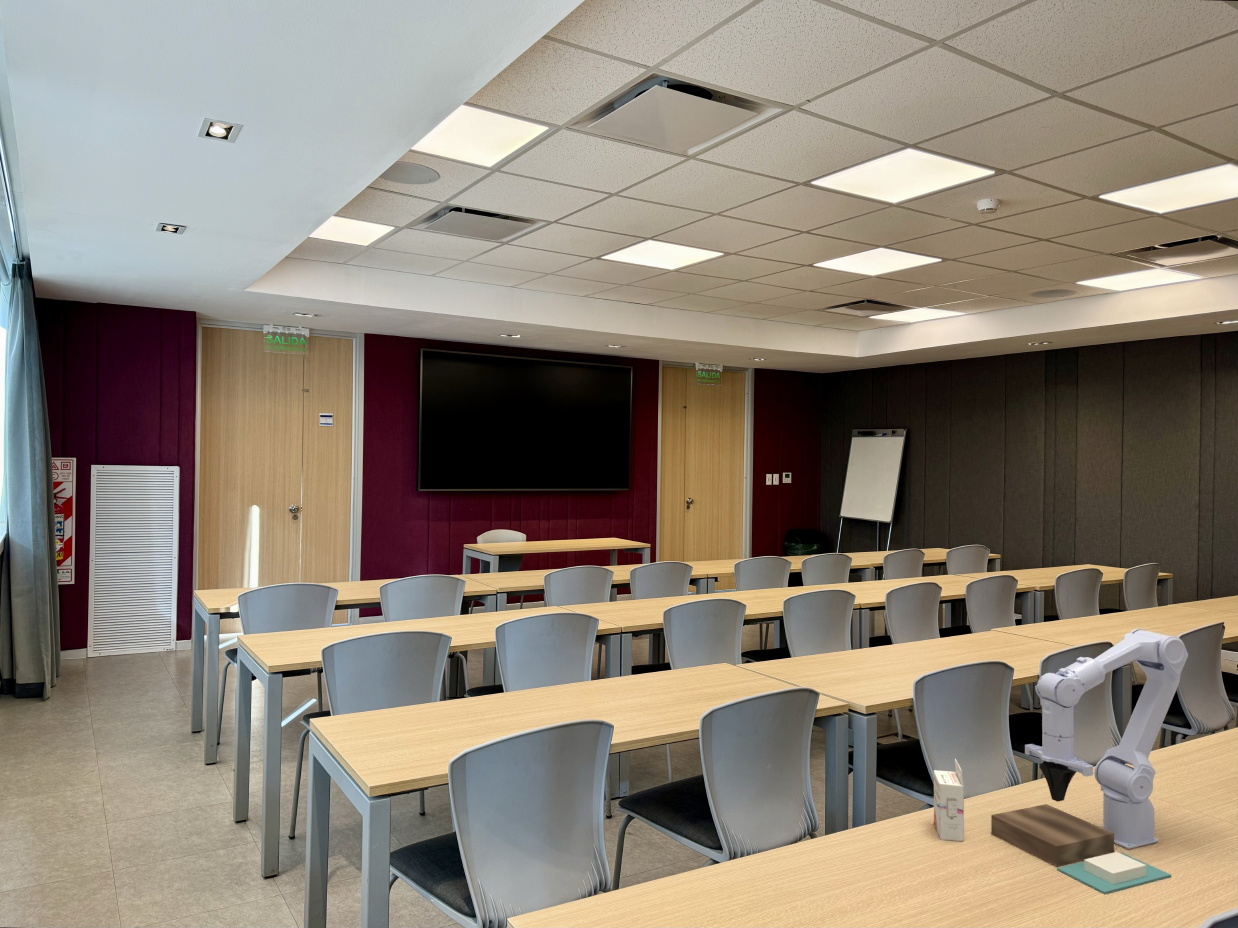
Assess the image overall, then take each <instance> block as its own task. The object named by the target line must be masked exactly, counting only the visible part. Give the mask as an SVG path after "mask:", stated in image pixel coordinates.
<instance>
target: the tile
mask: <svg viewBox="0 0 1238 928" xmlns="http://www.w3.org/2000/svg"><path fill="white" fill-rule="evenodd" d="M1120 853H1121V852H1118V851H1114V853H1110V854H1106V855H1101V856H1097V857H1093V858H1089V859H1085V860H1084V861H1083V862H1084V870H1085V871H1087V872H1089V873H1091V874H1093V875H1095V876H1097V877H1099V878H1101V879H1103V880H1105V881H1107V882H1109V883H1111V884H1117V883H1121V882H1125V881H1128V880H1132V879H1136V878H1140V877H1144V876H1146V865H1145V864H1142V863H1140V862H1138V861H1136V860H1134V859H1131V858H1129V857H1127V856H1125V855H1123V854H1120Z"/></svg>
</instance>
